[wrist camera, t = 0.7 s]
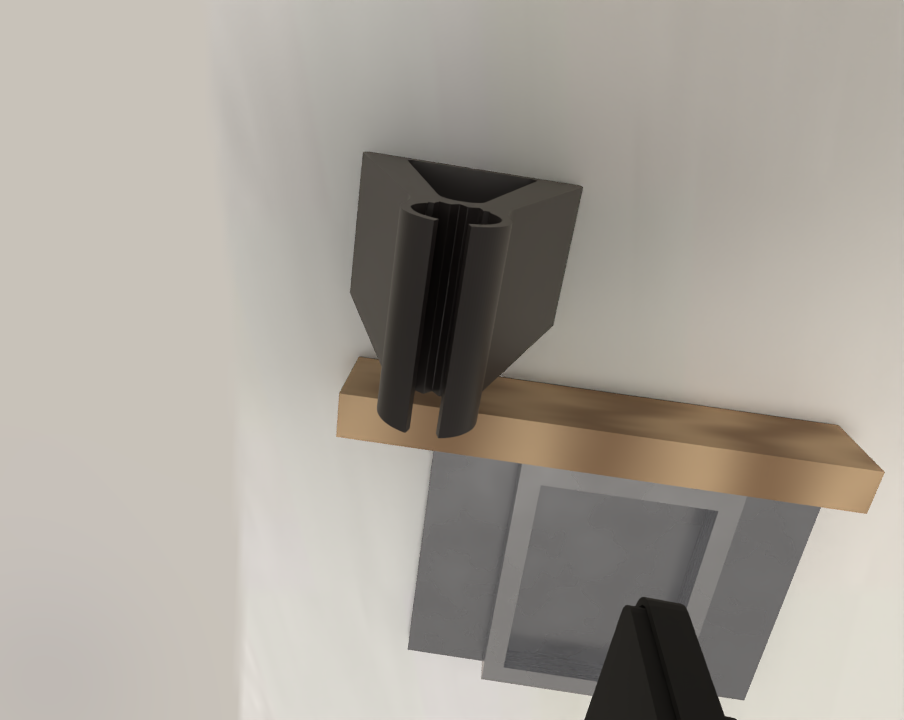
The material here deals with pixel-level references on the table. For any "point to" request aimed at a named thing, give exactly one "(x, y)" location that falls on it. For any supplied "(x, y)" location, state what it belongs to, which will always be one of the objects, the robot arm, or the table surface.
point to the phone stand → (454, 278)
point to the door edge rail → (632, 440)
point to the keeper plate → (594, 569)
